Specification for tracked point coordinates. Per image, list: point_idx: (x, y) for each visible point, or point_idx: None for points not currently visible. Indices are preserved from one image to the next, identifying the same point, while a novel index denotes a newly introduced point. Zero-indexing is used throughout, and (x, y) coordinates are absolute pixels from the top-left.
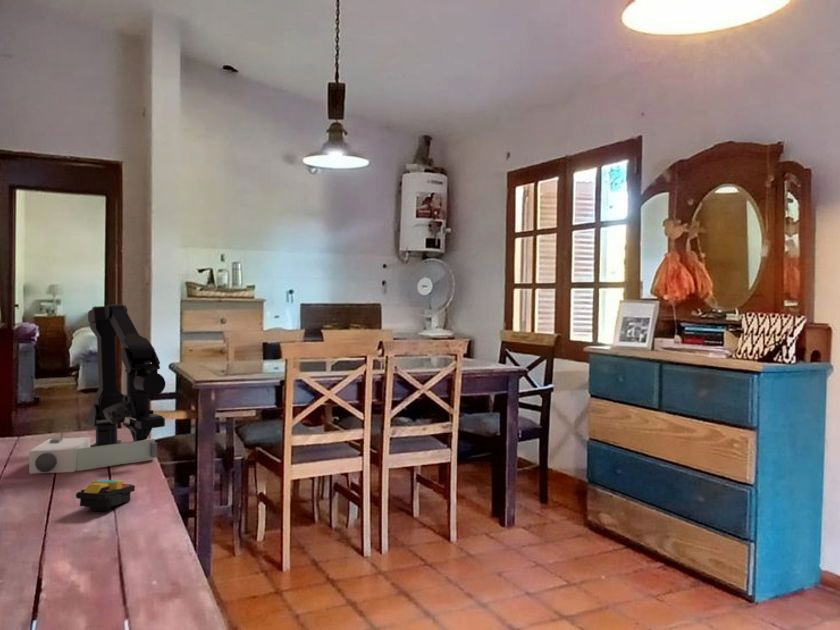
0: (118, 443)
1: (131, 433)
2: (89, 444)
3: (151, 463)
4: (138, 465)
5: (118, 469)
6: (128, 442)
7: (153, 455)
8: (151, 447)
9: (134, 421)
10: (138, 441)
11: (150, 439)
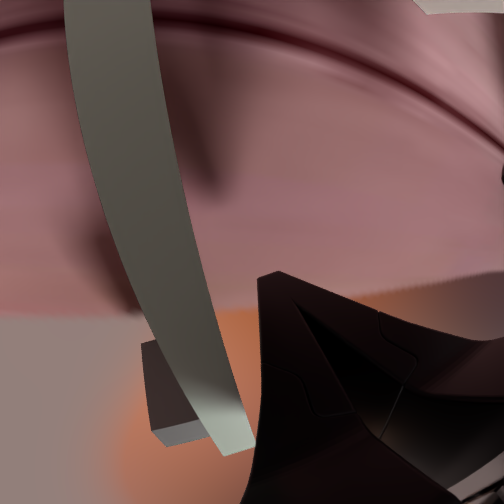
0: (135, 58)
1: (423, 335)
2: (488, 2)
3: (97, 314)
4: (63, 236)
5: (3, 93)
6: (141, 252)
7: (143, 356)
8: (171, 393)
9: (491, 497)
10: (174, 373)
11: (220, 441)
